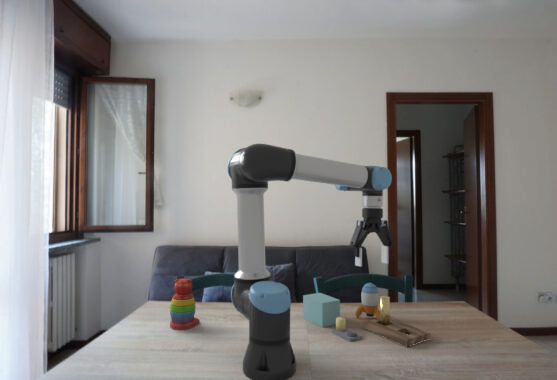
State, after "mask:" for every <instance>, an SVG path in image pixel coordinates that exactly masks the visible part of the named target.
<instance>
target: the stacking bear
mask: <svg viewBox="0 0 557 380" xmlns="http://www.w3.org/2000/svg"><path fill="white" fill-rule="evenodd" d="M174 283H175V284H174V292H175V294H173V296H172V299H171V301H170V306H169V313H170V314H169V315H170V322H169V327H170V328H171V329H173V330H176V331H177V330H178V331H180V330H181V331H182V330H189V329H192V328H195V327H196V326H198V325H199V323H201V322H200V319H199V318H198V317H195V314H196V308H197V307H196V301H195V298H194V294H193V293H192V290H193V280H192V279H191V278H176V279H175V280H174Z"/></svg>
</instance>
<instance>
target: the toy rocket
mask: <svg viewBox="0 0 557 380" xmlns="http://www.w3.org/2000/svg"><path fill="white" fill-rule="evenodd" d="M360 297H361V299H360V300H361V305H359V306H358V307H357V309H356V311H355V318H356V317H357V318H356V319H359V318H360V317H361V316H362V315H363V313H364V314H366V316H367V317H369V318H370V317H371V318H372V317H374V316H375V319H377V318H380V308H378V306H379V302H380V294H379V290H378V288H377V285H375V284H374V283H372V282H367V283H365V284H364V285H363V287H362V289H361V294H360Z"/></svg>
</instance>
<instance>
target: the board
mask: <svg viewBox="0 0 557 380" xmlns="http://www.w3.org/2000/svg"><path fill="white" fill-rule="evenodd" d="M362 328H365V329H364V330H366V329H367V330H366V331H368V330H369V331H368V332H370V331H372V332H371V333H373V332H374V333H373V334H375V333H377V334H379V335H381V336H380V337H382V336H384V337H386V338H388V339H387V340H389V339H391V340H393V341H395V342H394V343H396V342H398V343H400V344H402V345H401V346H403V345H405V346H410V345H413V344H416V343H418V342H421V341H424V340H427V339H432V338H431V335H432V334H431V332H429V331H426V330H424V329H421V328H419V327H416V326H413V325H410V324H408V323H405V322H403V321H399V320H396V319H394V318H391V317H390V325H387V326H384V325H381V324H380V318H373V319H369V320H364V321H362ZM377 334H376V335H377ZM407 334H408V335H407ZM379 335H378V336H379ZM384 337H383V338H384ZM386 338H385V339H386ZM391 340H390V341H391ZM393 341H392V342H393ZM398 343H397V344H398ZM400 344H399V345H400ZM405 346H404V347H405ZM413 346H414V345H413ZM410 347H411V346H410Z"/></svg>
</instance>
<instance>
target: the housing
mask: <svg viewBox="0 0 557 380" xmlns="http://www.w3.org/2000/svg"><path fill="white" fill-rule="evenodd" d="M302 300H303V301H302V318H303V319H304V320H307V321H309V322H311V323H313V324H315V325H317V326H318V327H321V328H325V327H330V326H334V324H335V325H336V318H337V317H341V300H340V299H338V298H335V297H333V296H330V295H327V294H325V293H322V292H316V293H309V294H304V295H302Z"/></svg>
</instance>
